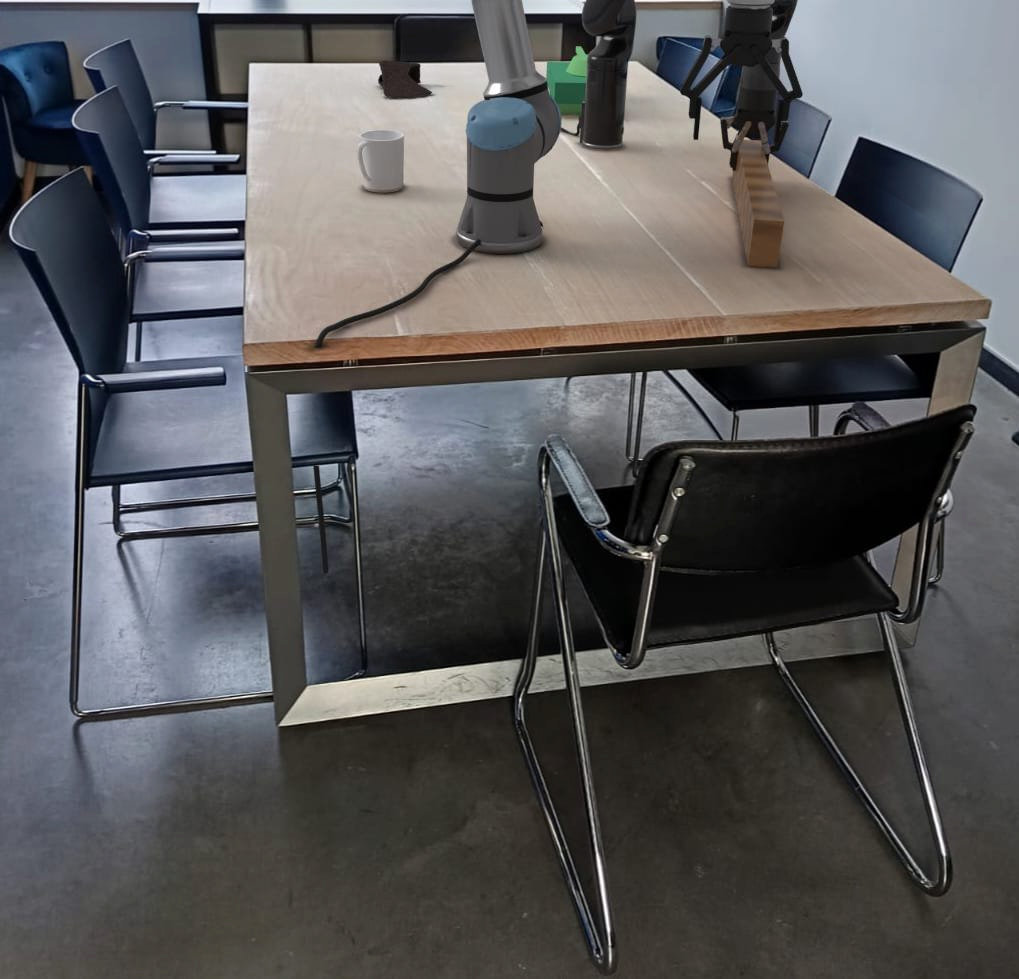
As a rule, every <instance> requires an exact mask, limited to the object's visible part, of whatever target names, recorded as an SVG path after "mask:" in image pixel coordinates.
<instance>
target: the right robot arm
mask: <svg viewBox="0 0 1019 979" xmlns="http://www.w3.org/2000/svg"><path fill="white" fill-rule="evenodd" d="M798 1H799V0H774V3H773V4H771V5H770V7H771V8H772V9H773V16H772V24H771V33H770V37H771V40H774V39H781V38H782V37H786V35H787V32H788V30H789V28H790V24H791V22H792V20H793V17H794V14H795V11H796V9H797V5H798ZM637 12H638V11H637V5H636V1H635V0H585V2H584V4H583V7H582V10H581V21H582V26H583V29H584V30H585V31H586V33H587V34H589V35H591V36H593V37H600V38H599V41H598V43H597V45H596V46H595V47H594V48H593V49H592V50H591V51H590V52H588V54H587V55H588V57H587V73H586V92H585V100H583V101H582V107H581V115H578V123H577V125H576V132H575V133H574V132H570V131H568V129H565V128H564V127H562V126H561V131H560V132H562V133H565V134H567V135H571V136H574V137H577V136H579V144H582V146H583V147H585V148H588V149H592V150H598V151H599V150H600V151H610V150H611V151H612V150H618V149H620V148H622V147H623V144H624V140H623V139H624V138H623V137H624V134H625V114H626V113H625V112H626V102H627V101H626V99H627V85H628V72H629V61H630V59H631V57H632V55H633V51H634V45H635V44H634V43H635V36H636V28H637V27H636V26H637V16H638V15H637ZM764 57H765V58H766V60H767V61H768V63H769V64H770V66H771V67H772V69H773V70H774V72H775V73H776V75H777V76H778V78H779V79H780V78H781V62H782V58H781V54H780V53H777V52H776V49H775V48H774V47H772V48H771V49H770V50H769V52H768V53H767V54H766V55H765V56H764ZM738 88H739V89H738V97H737V103H736V111H735V112H734V114H733V115H732V116H727V117H725V116H721V117H720V119H719V122H720V124H719V125H720V134H721V142H722V147H723V149H724V150H728V151H729V152H730V155H729V168H730V169H731V170H732V172H733V171H736V166H737V159H738V148H739V146H740V144H741V143H742V141H743V140H745V138H746V139H747V138H755V139H760V141H761V143H762V146H763V150H764V153H765V156H766V160H767V163H768V164H769V161H770V155H771V154H772V153H774V152H775V153H776V152H779V151H780V149H781V147H782V144H783V142H784V139H785V136H786V134H787V131H788V128H789V126H790V125H789V122H788V120H787V121H781V129H780V136H779V142H774V141H773V143H771V144H769V139H768V135H767V133H768V132H769V131H770V130H771V129H772V127H774V124H775V116H776V107H777V100H778V93H779V92H778V91H777V89H776V88H775V86H774V85H773V83H772V82H771V80H770V79H769V77H768V76H767V74H766V73H765V72H764V70H763V69H762V67H761V66H760V64H758V65H756V66H753V67H747V66H742V68H741V73H740V79H739V87H738ZM733 123H734V124H735V126H736V128H737V130H738V131H737V133H736V135H735V137H734V138H733V142H731V141H730V140H729V132H728V130H729V129H730V128H731V127H732V124H733Z"/></svg>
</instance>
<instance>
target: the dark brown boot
mask: <svg viewBox="0 0 1019 979" xmlns="http://www.w3.org/2000/svg"><path fill="white" fill-rule="evenodd" d="M378 66H379V68H380V72H381V74H379V75H378V79H377V84H378V85H379V86H380V87H381V88H382V89H383V95H384V96H385V97H388V98H394V99H395V98H396V99H403V98H405V99H406V98H407V99H411V98H418V97H425V96H429V95H432V94H433V91H431V90H430V89H428V88H427V87H425V86H422V85H421V84H422V82H421V63H419V62H410V61H408V62H407V61H397V60H388V59H387V60H380V61H379V62H378Z"/></svg>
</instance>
